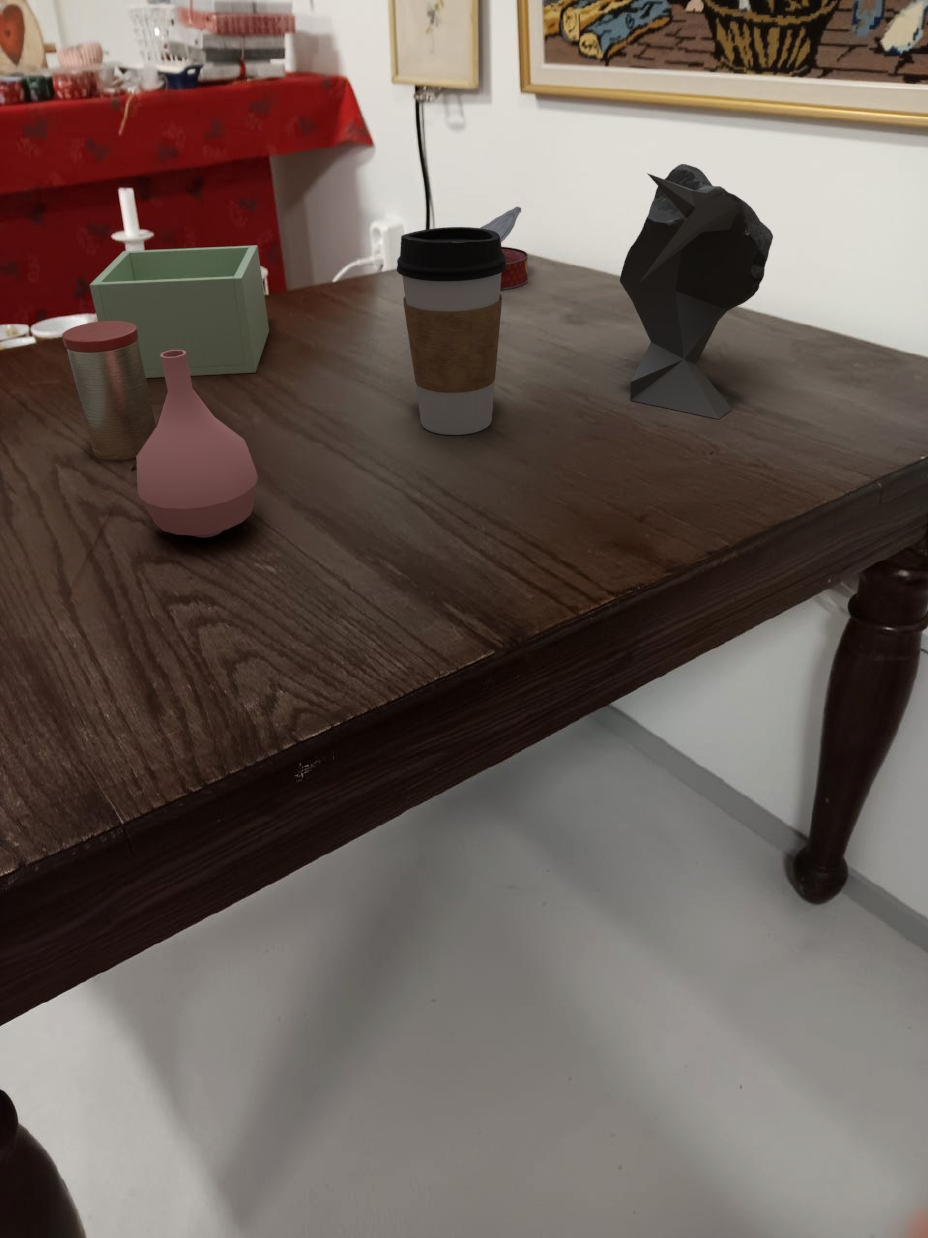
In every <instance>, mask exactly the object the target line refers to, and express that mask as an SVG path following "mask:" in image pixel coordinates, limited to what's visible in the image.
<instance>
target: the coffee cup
mask: <svg viewBox="0 0 928 1238" xmlns="http://www.w3.org/2000/svg"><path fill="white" fill-rule="evenodd" d="M502 247H503V246H502V242H501V240H500V235H499V234H498V233H496V232H494V231H491V230H487V229H482V228H481V227H472V226H448V227H436V228H428V229H427V228H426V229H423V230H416V231H412V232H409V233H408V232H407V233H405V234H402V235H401V236H400V249H399V252H400V253H399V257H398V258H397V260H396V264H397V265H396V272H397V273H398V274H399V275H400V276H402V284H403V290H404V291H403V292H404V297H403V299H402V302H403V303H402V304H403V308H404V309H403V310H404V316H405V321H406V330H407V336H408V343H409V349H410V355H411V362H412V369H413V376H414V382H415V386H416V394H417V401H418V402H417V403H418V411H419V418H420V424H421V426H422V427H423V428H424V429H425V430H427V431H429V432H431V433H435V434H439V435H443V436H444V435H445V436H446V435H447V436H462V435H470V434H475V433H478V432H481V431H483V430H485V429H487V428H488V427H490V425H491V424H492V422H493V421H492V420H493V411H494V409H493V408H494V396H495V395H494V394H495V393H494V392H495V380H496V373H497V371H496V370H497V361H498V349H499V337H500V329H501V327H500V326H501V317H502V316H501V315H502V306H503V305H502V304H503V295H502V293H501V290H500V285H501V272H503V271H504V270H505V269H506V267H507V265H506V262H505V260H506V257H505V255H504V253H503V252H502Z"/></svg>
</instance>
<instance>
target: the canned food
mask: <svg viewBox="0 0 928 1238" xmlns="http://www.w3.org/2000/svg"><path fill="white" fill-rule="evenodd" d="M521 213H522V208H521V207H520V206H515V207H513V208H511V209H509V210H508V211H506V212H504V213H503V214H501V215H499V216H497V217H495V218H493V219H492V220H491V221H490V222H488V223H486V224H484V225H483V226H480V228H482V229H487V230H491V231H494V232H496V233H498V234H499V235H500V240H501V243H503V241H504V240H506V239H507V237H509V235H510V234H511V232H512V231H513V229H514V227H515V225H516V222H517V219H518V217H519V215H520V214H521ZM501 247H502V252H503V253H504V255H505V257H506V260H505V262H506V265H507V267H506V269H505V270H504V271H503V272H501V285H500V291H505V290H511V289H516V288H518V287H521V286H523V285H525V284H526V283H527V282H528V259H529V257H528V256H529V255H528V253H527V252H526V250H523V249H519V248H517V247H516V248H514V247H509V246H508V247H507V246H501Z"/></svg>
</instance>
